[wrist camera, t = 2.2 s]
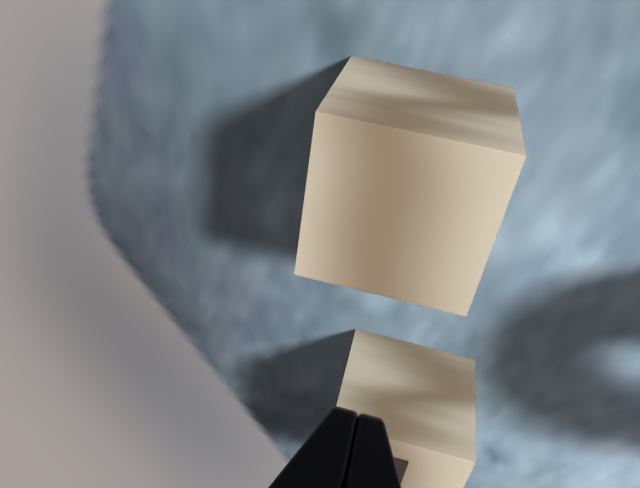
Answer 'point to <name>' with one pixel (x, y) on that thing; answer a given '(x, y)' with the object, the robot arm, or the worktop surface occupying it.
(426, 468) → the one stroke block
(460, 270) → the plain block
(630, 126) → the worktop surface
